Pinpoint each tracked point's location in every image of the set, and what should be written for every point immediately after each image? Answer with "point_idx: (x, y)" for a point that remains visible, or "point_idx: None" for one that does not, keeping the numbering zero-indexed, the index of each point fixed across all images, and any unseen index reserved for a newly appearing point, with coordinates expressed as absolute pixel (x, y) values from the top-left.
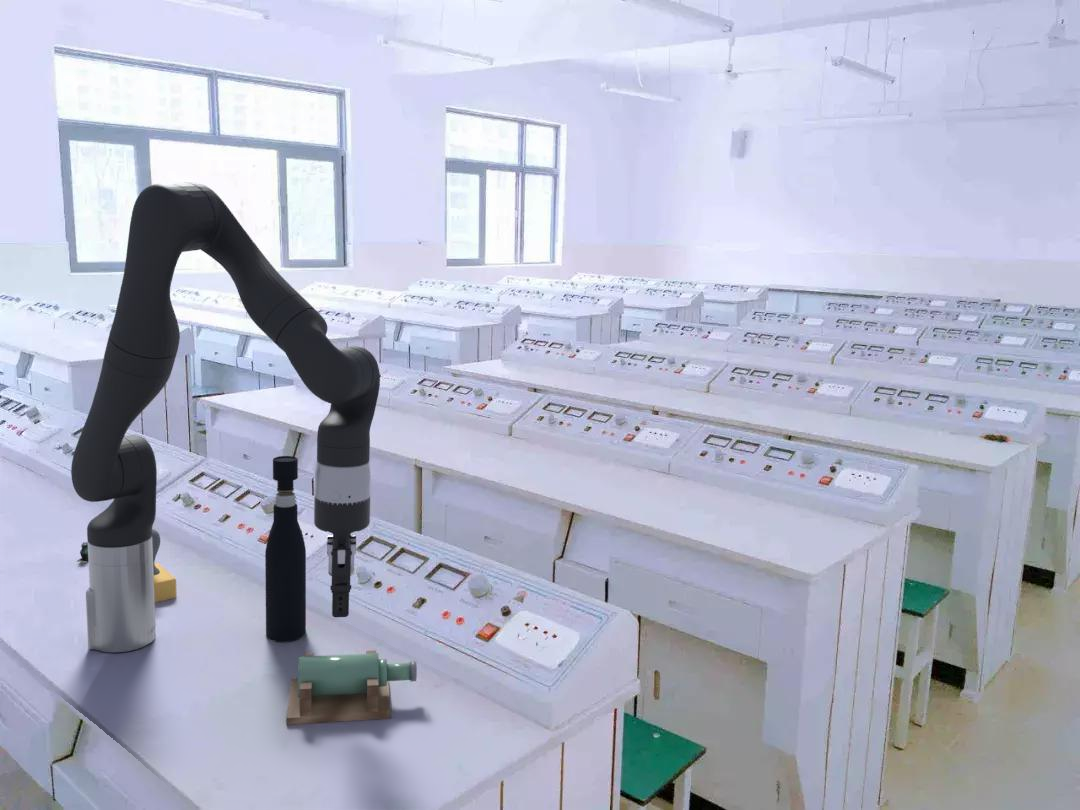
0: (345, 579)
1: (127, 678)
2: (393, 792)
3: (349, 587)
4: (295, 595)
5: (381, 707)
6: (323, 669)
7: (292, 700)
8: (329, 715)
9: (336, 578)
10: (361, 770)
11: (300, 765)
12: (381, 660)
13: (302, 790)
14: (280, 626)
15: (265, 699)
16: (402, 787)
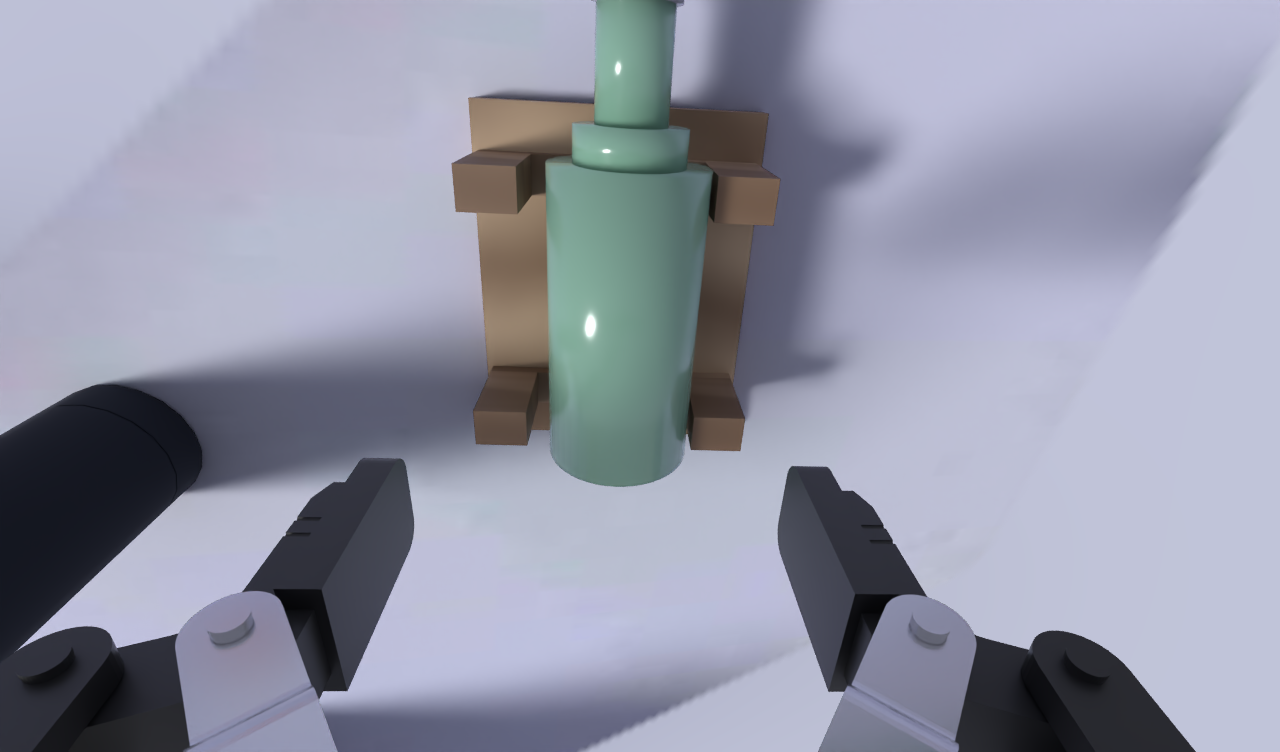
0: (371, 533)
1: (445, 727)
2: (1177, 143)
3: (1140, 691)
4: (35, 525)
5: (732, 147)
6: (674, 396)
7: None
8: (739, 322)
9: (377, 595)
10: (1024, 231)
11: (930, 386)
12: (630, 157)
13: (1040, 380)
14: (164, 490)
15: None
16: (1169, 111)
